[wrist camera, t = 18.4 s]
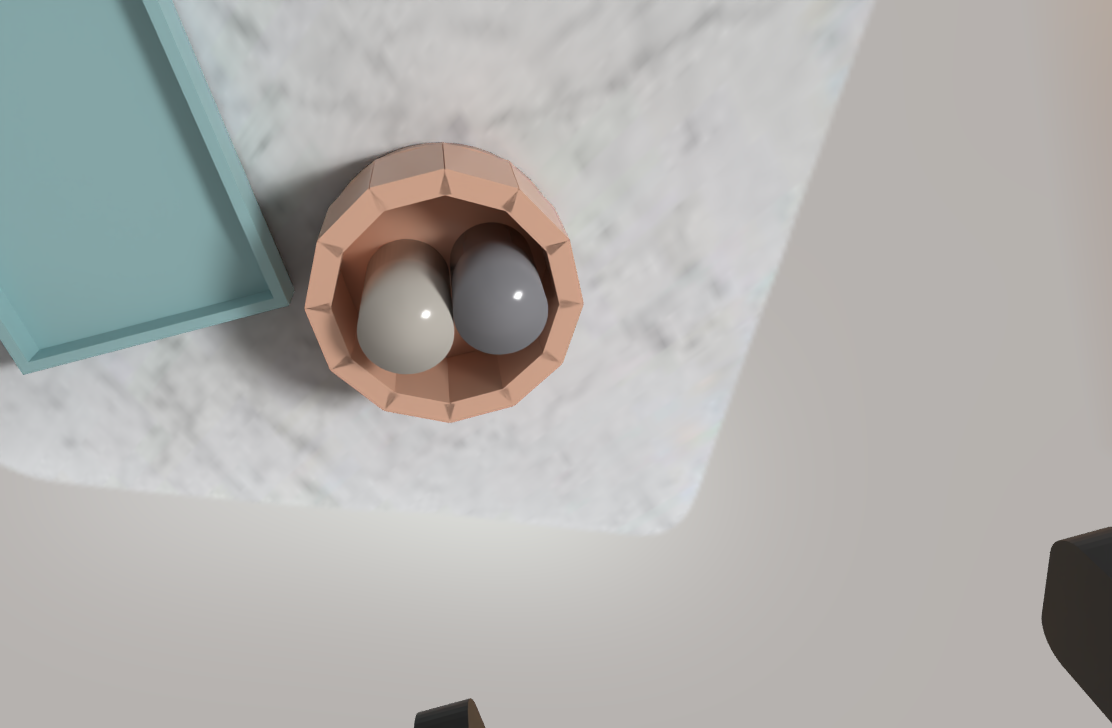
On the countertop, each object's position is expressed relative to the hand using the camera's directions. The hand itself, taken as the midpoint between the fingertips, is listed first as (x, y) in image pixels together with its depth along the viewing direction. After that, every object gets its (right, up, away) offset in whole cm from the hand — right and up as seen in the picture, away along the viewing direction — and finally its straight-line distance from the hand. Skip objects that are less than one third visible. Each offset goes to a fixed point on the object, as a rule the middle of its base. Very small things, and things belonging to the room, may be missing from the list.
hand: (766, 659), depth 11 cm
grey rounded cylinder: (-6, +9, +26) cm, 28 cm away
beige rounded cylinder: (-10, +8, +26) cm, 28 cm away
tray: (-22, +13, +22) cm, 34 cm away
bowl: (-8, +9, +26) cm, 29 cm away
